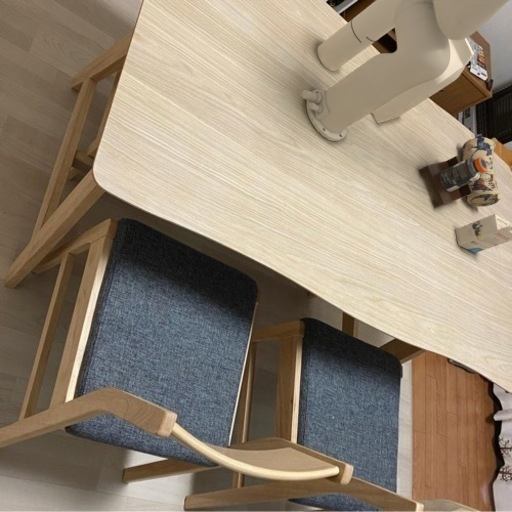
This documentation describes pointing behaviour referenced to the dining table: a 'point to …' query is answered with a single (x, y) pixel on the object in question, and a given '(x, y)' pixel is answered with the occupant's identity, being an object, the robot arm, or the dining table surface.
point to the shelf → (437, 188)
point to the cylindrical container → (358, 34)
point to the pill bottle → (463, 173)
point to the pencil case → (486, 184)
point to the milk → (427, 84)
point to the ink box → (484, 233)
